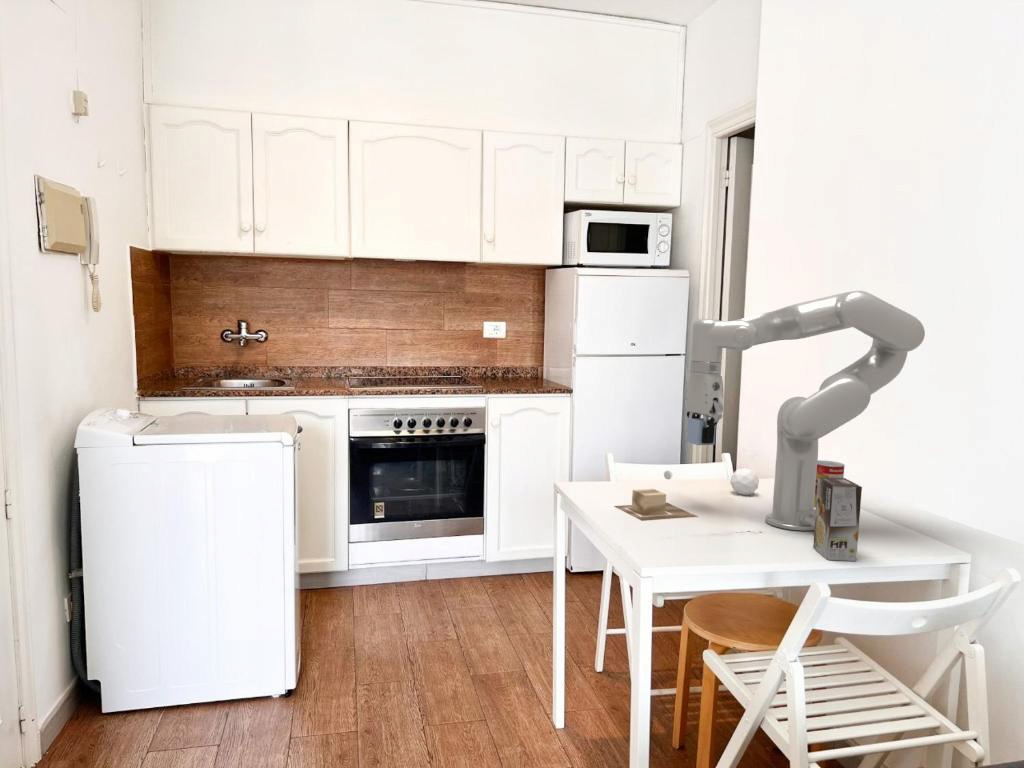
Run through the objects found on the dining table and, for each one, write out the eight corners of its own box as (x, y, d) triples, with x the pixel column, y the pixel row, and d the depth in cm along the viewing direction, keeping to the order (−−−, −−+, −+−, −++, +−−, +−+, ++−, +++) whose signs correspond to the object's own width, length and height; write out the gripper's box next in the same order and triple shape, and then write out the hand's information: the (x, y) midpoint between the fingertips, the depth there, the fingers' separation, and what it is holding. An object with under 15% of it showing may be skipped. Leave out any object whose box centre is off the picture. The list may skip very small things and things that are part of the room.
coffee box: (857, 561, 158) (863, 486, 157) (827, 560, 158) (832, 485, 157) (840, 548, 167) (845, 477, 166) (811, 547, 167) (816, 476, 166)
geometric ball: (749, 505, 216) (761, 487, 210) (723, 492, 217) (734, 474, 212) (754, 488, 221) (765, 470, 216) (729, 476, 223) (739, 458, 218)
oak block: (665, 514, 187) (666, 494, 186) (644, 515, 184) (645, 495, 184) (652, 507, 192) (653, 488, 192) (631, 509, 190) (632, 489, 190)
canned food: (823, 501, 212) (827, 459, 210) (847, 508, 205) (851, 465, 203) (803, 503, 208) (807, 461, 207) (827, 510, 201) (830, 466, 200)
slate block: (714, 444, 187) (716, 420, 187) (697, 445, 185) (699, 421, 185) (702, 441, 192) (704, 418, 191) (686, 441, 190) (687, 418, 189)
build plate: (697, 521, 185) (698, 516, 185) (641, 525, 180) (641, 520, 180) (666, 507, 198) (667, 502, 198) (613, 510, 193) (613, 505, 193)
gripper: (739, 372, 180) (734, 447, 182) (698, 366, 196) (693, 435, 198) (713, 371, 178) (708, 447, 179) (673, 366, 193) (669, 435, 195)
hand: (700, 440), depth 188 cm, fingers closed on slate block, 5 cm apart
